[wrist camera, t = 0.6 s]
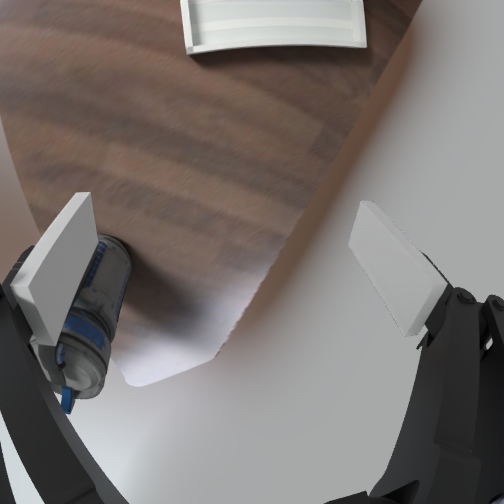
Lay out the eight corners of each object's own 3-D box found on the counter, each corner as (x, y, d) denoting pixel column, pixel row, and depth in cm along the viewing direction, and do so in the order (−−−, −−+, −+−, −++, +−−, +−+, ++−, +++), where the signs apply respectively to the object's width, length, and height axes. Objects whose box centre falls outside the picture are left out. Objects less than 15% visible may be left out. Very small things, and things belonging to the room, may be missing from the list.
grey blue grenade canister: (137, 221, 42) (91, 367, 21) (131, 289, 49) (106, 425, 28) (74, 210, 39) (-5, 340, 19) (77, 279, 46) (31, 406, 25)
